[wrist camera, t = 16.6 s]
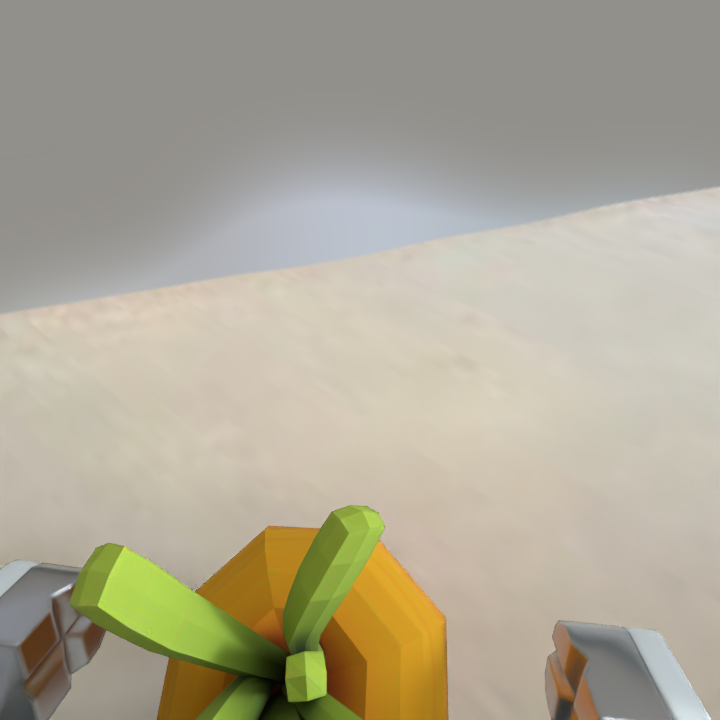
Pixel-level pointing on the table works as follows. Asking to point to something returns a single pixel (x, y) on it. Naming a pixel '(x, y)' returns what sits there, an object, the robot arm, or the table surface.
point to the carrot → (282, 627)
